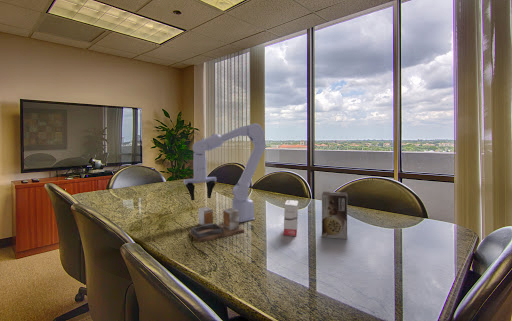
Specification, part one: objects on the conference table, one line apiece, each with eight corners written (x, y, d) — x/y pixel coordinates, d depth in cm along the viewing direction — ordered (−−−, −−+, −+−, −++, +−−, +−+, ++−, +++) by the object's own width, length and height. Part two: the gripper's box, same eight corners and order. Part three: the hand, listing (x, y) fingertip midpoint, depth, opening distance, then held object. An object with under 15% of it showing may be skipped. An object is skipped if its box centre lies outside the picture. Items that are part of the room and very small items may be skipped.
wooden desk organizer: (231, 224, 115) (230, 206, 115) (244, 232, 106) (243, 212, 106) (188, 233, 105) (188, 213, 105) (199, 242, 96) (198, 220, 96)
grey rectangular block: (207, 222, 120) (207, 206, 119) (213, 226, 114) (213, 209, 114) (198, 223, 117) (198, 208, 117) (204, 227, 112) (204, 211, 112)
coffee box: (347, 233, 103) (347, 192, 102) (347, 239, 97) (347, 195, 96) (322, 231, 106) (323, 190, 105) (321, 237, 100) (321, 194, 99)
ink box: (297, 236, 101) (297, 205, 100) (283, 235, 102) (283, 204, 101) (298, 229, 109) (298, 200, 109) (285, 228, 110) (285, 199, 110)
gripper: (211, 166, 126) (212, 195, 127) (181, 168, 118) (182, 199, 119) (218, 167, 120) (218, 198, 121) (186, 170, 112) (187, 202, 113)
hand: (201, 198), depth 120 cm, fingers open, 7 cm apart
